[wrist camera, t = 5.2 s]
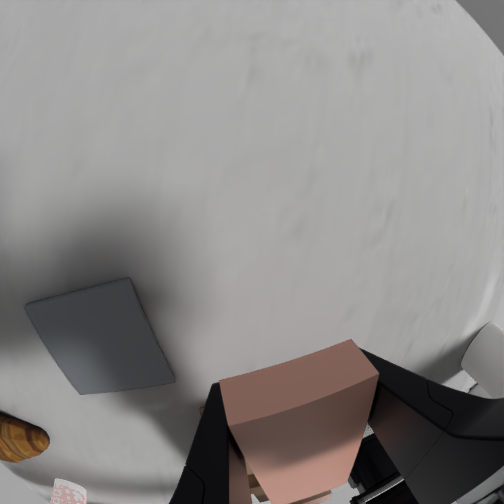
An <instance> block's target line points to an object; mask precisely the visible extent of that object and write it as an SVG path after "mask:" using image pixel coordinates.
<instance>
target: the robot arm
mask: <svg viewBox="0 0 504 504" xmlns="http://www.w3.org/2000/svg"><path fill="white" fill-rule="evenodd" d="M358 348H359V347H358ZM359 349H360V350H361V351H362V352H363V354H364V355H365V356H366V357H367V359H368V360H369V361H370V362H371V364H372V365H373V366H374V367H375V369H376V370H377V371H378V372H379V377H378V381H377V386H376V390H375V394H374V398H373V402H372V406H371V410H370V414H369V417H368V421H367V422H368V424H369V425H370V427H371V428H372V430H373V432H374V433H375V435H373V436H371V437H369V438H366V439H364V440H362V441H361V444H360V447H359V450H358V453H357V456H356V459H355V461H354V464H353V467H352V470H351V472H350V475H349V478H348V482H349V484H350V486H351V487H352V488H353V489H354V488H356V487H357V489H358V491H359V493H360V495H358V496H354V497H352V500H350V503H351V504H451V503H453V502H454V501H456V502H457V503H458V504H504V397H503V398H498V399H490V398H484V397H480V396H476V395H473V394H469V393H465V392H462V391H458V390H455V389H452V388H449V387H446V386H444V385H441V384H439V383H436V382H434V381H431V380H429V379H427V380H426V378H424V377H422V376H420V375H418V374H415V373H413V372H411V371H409V370H406V369H404V368H402V367H400V366H398V365H395V364H393V363H391V362H389V361H387V360H384V359H382V358H380V357H378V356H376V355H374V354H372V353H369V352H367V351H365V350H363V349H361V348H359ZM185 464H186V466H184V469H183V472H182V475H181V478H180V480H179V483H178V485H177V488H176V490H175V492H174V494H173V496H172V498H171V500H170V502H169V504H252V499H251V493H250V487H249V481H248V475H247V469H246V462H245V457H244V455H243V453H242V452H241V450H240V448H239V446H238V444H237V442H236V440H235V438H234V436H233V434H232V432H231V430H230V428H229V426H228V422H227V418H226V413H225V408H224V403H223V398H222V393H221V388H220V383H219V382H217V383H214V384H212V386H211V389H210V392H209V395H208V398H207V401H206V404H205V407H204V410H203V413H202V416H201V419H200V422H199V425H198V428H197V431H196V434H195V437H194V440H193V443H192V446H191V449H190V452H189V455H188V457H187V460H186V463H185ZM402 479H404V480H403V481H402V482H400V483H399V484H397V485H395V486H394V487H392V488H390V489H389V490H387V491H385V492H384V493H382V494H380V495H378V496H377V497H375V498H373V499H371V500H369V501H367V502H366V503H365V501H366V500H368V499H370V498H372V497H373V496H375V495H377V494H379V493H381V492H382V491H384V490H386V489H388V488H389V487H391V486H393V485H394V484H396V483H397V482H399V481H400V480H402Z"/></svg>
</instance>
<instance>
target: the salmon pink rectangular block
mask: <svg viewBox="0 0 504 504" xmlns="http://www.w3.org/2000/svg"><path fill="white" fill-rule="evenodd" d="M378 377H379V372H378V371H377V370H376V369H375V367H374V366H373V365H372V364H371V362H370V361H369V360H368V359H367V357H366V356H365V355H364V354H363V352H362V351H361V350H360V349H359V348H358V346H357V345H356V344H355V343H354V341H353V340H352V339H350V340H347V341H345V342H342V343H339V344H337V345H334V346H331V347H329V348H326V349H323V350H320V351H318V352H315V353H312V354H309V355H306V356H303V357H300V358H297V359H294V360H291V361H288V362H284V363H281V364H278V365H275V366H271V367H268V368H264V369H261V370H257V371H254V372H250V373H246V374H243V375H239V376H235V377H231V378H227V379H223V380H219V383H220V388H221V393H222V398H223V403H224V408H225V413H226V418H227V422H228V426H229V428H230V430H231V432H232V434H233V436H234V438H235V440H236V442H237V444H238V446H239V448H240V450H241V452H242V453H243V455H244V457H245V459H246V461H247V463H248V464H249V466H250V468H251V470H252V472H253V473H254V475H255V477H256V479H257V480H258V482H259V484H260V485H261V487H262V489H263V490H264V492H265V494H266V495H267V497H268V499H269V500H270V502H271V503H272V504H289V503H292V502H295V501H299V500H302V499H305V498H308V497H311V496H314V495H317V494H319V493H322V492H325V491H328V490H330V489H333V488H335V487H338V486H340V485H342V484H345V483H347V480H348V478H349V475H350V472H351V470H352V467H353V464H354V461H355V459H356V456H357V453H358V450H359V447H360V444H361V441H362V438H363V434H364V431H365V428H366V424H367V421H368V417H369V414H370V410H371V406H372V402H373V398H374V394H375V390H376V386H377V381H378Z"/></svg>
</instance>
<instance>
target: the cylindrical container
mask: <svg viewBox="0 0 504 504" xmlns="http://www.w3.org/2000/svg"><path fill="white" fill-rule="evenodd" d="M461 367H462V368H463V369H464V370H465V371H466V372H467V373H468V374H469V375H470V376H471V377H472V378H473V379H474V380H475V381H476V382H477V383H478V384H479V385H480V386H481V387H482V388H483V389H484V390H485V391H486V392H487V393H488V394H489V395H490V396H491V397H492V398H493V399H498V398H503V397H504V330H503V329H502V328H500V327H499V326H498V325H496V324H495V323H494V322H489V323H488V324H486V325H485V326H484V327H483V328H482V329H481V330H480V332H479V333H478V334H477V335H476V337H475V338H474V339H473V341H472V342H471V344H470V346H469V347H468V349H467V351H466V352H465V354H464V356H463V359H462V362H461Z"/></svg>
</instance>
